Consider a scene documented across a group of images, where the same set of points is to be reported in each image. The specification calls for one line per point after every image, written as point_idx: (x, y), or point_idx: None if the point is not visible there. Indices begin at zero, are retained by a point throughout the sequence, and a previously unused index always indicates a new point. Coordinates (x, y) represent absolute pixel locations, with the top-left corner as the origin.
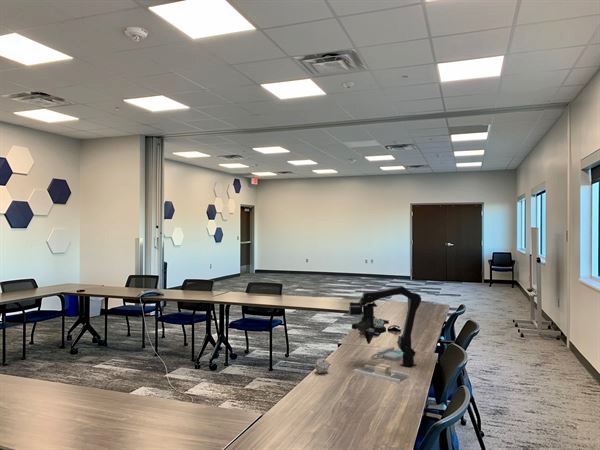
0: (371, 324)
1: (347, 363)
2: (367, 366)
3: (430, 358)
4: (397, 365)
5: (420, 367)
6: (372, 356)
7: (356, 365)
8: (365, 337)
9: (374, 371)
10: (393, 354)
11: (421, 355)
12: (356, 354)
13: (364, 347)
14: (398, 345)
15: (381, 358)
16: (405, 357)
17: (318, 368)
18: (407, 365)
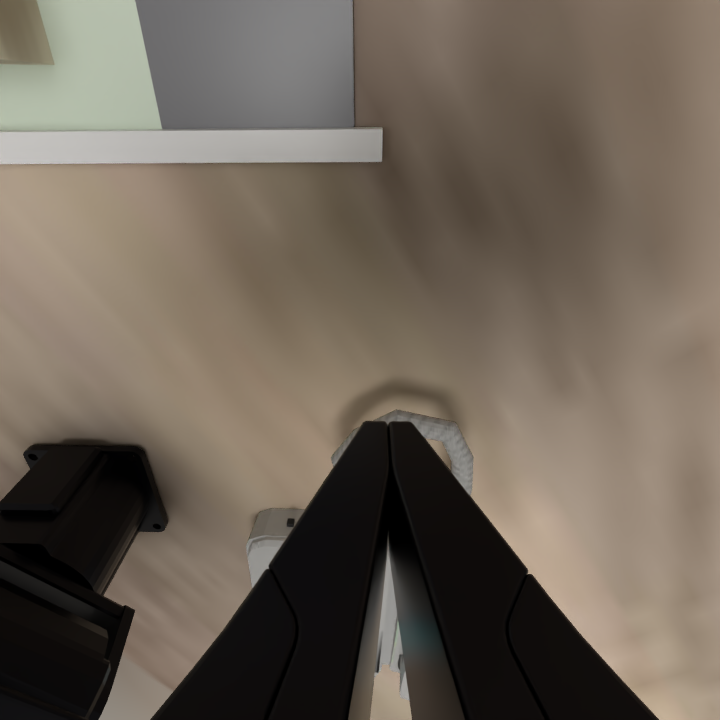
0: None
1: (703, 149)
2: (330, 129)
3: (139, 660)
4: (169, 439)
5: (3, 495)
6: (434, 434)
7: (539, 153)
8: (533, 578)
9: (154, 44)
10: None
11: None
12: (693, 499)
13: (680, 652)
14: (65, 669)
15: (332, 455)
16: (23, 519)
17: None
18: (47, 452)
